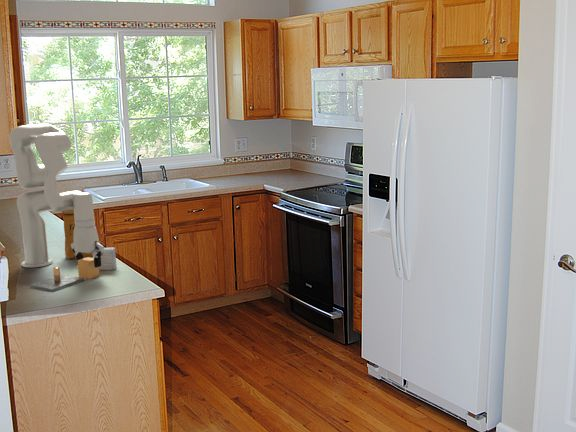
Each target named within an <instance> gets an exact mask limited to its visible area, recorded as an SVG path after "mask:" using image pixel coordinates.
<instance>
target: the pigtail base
mask: <svg viewBox="0 0 576 432" xmlns="http://www.w3.org/2000/svg"><path fill="white" fill-rule="evenodd" d="M60 268H61V267H60V266H56V267H53V270H52V271H53V277H51V278H48V279H45V280H42V281H39V282H36V283H33V284H30V285H29V286H30V288H31V289H36V290H41V291H47V292H55V291H58V290H62V289H64V288H67V287H70V286H73V285H76V284H79V283H81V282H84V281H85V278H80V277H79V276H73V275H68V274H61V269H60Z"/></svg>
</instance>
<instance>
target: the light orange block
mask: <svg viewBox="0 0 576 432" xmlns="http://www.w3.org/2000/svg"><path fill="white" fill-rule="evenodd" d="M94 258H95V257H86V258H83V259H80V260H77V261H76V263H77V262H78V265H77V272H78V277H80V278H84V279H87V280H91V279H93V278H96V277H98V276H100V270H99V267H97V268H95V266H94Z"/></svg>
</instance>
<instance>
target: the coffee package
mask: <svg viewBox="0 0 576 432" xmlns="http://www.w3.org/2000/svg"><path fill="white" fill-rule="evenodd" d="M61 215H62V217H63V230H64V256H65V257H66V258H67V259H76V256H75V253H74V252H73V250H72V247H71V244H72V243H73V242H74V240H73V235H74V228H75V223H74V221H75V218H74V210H70V211H65V212H61ZM82 254H83V258H87V257H90V258H94V255H93V254H92V253H82Z"/></svg>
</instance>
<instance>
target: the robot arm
mask: <svg viewBox="0 0 576 432" xmlns="http://www.w3.org/2000/svg"><path fill="white" fill-rule="evenodd" d="M8 137H9V138H8V141H9V146H10V148H11V151H12V154H13V157H14V164H15V171H16V178H17V184H18V185H19V187H21V189H25V190H26V189H27V190H29V189H33V188H34V189H35V188H41V189H38V190H31V191H27V192H24V193H21V194H20V195H19V196H18V197H17V198H16V205H17V206H16V207H17V211H18V213H19V217H20V224H21V231H22V242H23V251H24V260H23V261H22V262H21V266H22V268H32V269H33V268H41V267H46V266H49V265H51V264H53V262H54V261H53V259H52V258H50V257H49V248H48V239H47V238H48V237H47V228H46V222H45V220H44V218H43V217H42V216H41V215H40V213H45V212H51V211H53V212H55V213H62V212H65V211H70V210H74V218H75V221H74V223H75V228H74V235H73V240H74V242H73V243H72V244H71V247H72V250H73V252H74V253H75V256H76V258H75V260H76V265H77V266H78V262H77V260H80V259H83V254H82V253H92V254H93V258H94V266H95V268H97V267H100V266H101V256H102V254H103V251H104V248H105V246H104V245H103V244H101V243H100V240H99V233H98V229H97V227H96V221H95V213H94V212H95V211H94V203H93V202H94V201H93V194H91V192H88V191H87V192H83V191H81V190H70V191H65V192H59V191H58V190H59V189H58V183H57V182H58V181H57V176H58V177H59V176H60V175H61V174H63V173H64V172H65V171H67V169H68V163H67V162H66V159H65V157H64V155H63V153H66V152H69V151H70V149H71V147H72V142H71V139H70V136H69V135H68V134H67V133H66V132H65V131H63V130H61V129H59V128H58V127H57V126H54V125H52V124H49V123H37V124H25V125H24V124H23V125H19V126H15V127H13V128H12V129H11V131H10V133H9V136H8ZM31 146H34V147H35V149H36V151H37V153H38V156H39V158H40V159H41V162H42V163H41V164H38V163H37V156H36V153H35V151H34V150H33V149H32V148H31ZM96 252H97V254H96Z"/></svg>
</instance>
